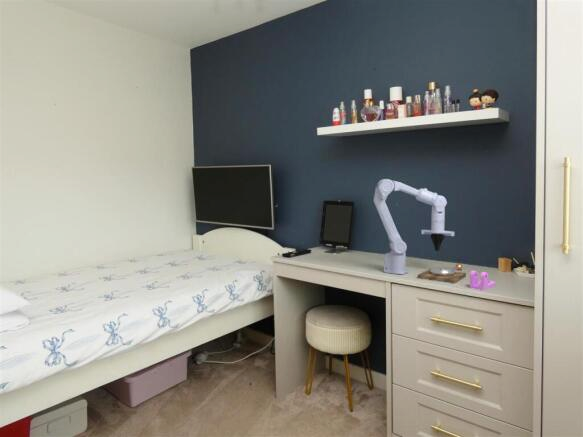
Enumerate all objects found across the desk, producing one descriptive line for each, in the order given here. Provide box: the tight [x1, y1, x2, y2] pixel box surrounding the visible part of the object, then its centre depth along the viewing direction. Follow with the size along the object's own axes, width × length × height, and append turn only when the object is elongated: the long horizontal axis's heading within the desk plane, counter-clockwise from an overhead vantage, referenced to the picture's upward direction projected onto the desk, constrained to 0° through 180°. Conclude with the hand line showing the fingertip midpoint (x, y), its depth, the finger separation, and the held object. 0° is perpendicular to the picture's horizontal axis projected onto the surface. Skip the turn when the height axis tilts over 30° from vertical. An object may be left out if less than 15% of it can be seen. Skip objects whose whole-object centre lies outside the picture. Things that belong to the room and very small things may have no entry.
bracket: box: [469, 270, 496, 291], centre depth 173 cm, size 13×6×7 cm, turn 132°
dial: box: [429, 263, 463, 276], centre depth 189 cm, size 13×10×4 cm
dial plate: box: [417, 268, 467, 284], centre depth 190 cm, size 16×16×2 cm
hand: (437, 250), depth 198 cm, fingers closed
